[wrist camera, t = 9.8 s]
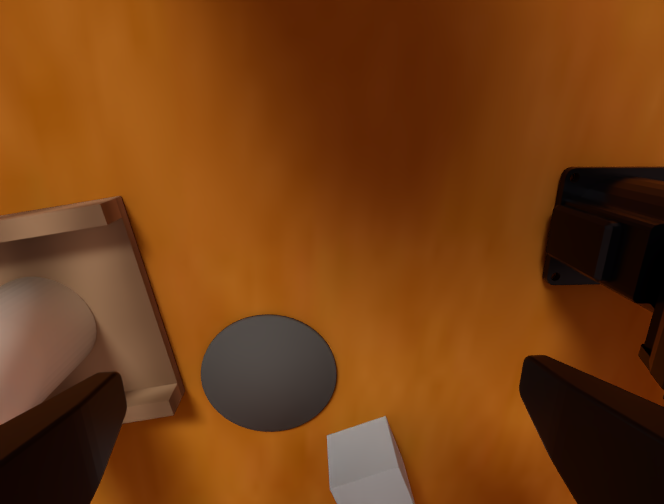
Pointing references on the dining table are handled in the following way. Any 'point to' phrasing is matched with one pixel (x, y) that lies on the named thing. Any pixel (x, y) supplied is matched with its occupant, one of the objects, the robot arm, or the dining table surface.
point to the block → (367, 466)
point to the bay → (100, 295)
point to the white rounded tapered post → (39, 341)
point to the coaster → (268, 373)
